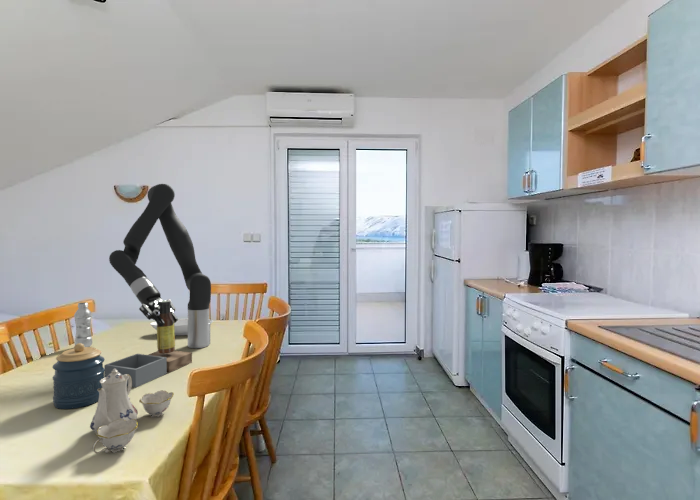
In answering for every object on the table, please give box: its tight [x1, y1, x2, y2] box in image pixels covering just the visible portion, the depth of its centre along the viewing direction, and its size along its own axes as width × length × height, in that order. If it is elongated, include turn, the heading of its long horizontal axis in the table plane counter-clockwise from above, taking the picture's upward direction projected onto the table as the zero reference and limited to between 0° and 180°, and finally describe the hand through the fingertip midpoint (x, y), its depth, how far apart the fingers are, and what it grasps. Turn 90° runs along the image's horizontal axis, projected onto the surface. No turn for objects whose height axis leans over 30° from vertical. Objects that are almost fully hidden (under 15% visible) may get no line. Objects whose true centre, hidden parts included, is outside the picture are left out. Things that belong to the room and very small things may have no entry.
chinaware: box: [89, 368, 175, 454], centre depth 100 cm, size 28×17×17 cm, turn 4°
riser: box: [147, 350, 193, 373], centre depth 149 cm, size 12×14×4 cm
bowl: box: [149, 318, 214, 336], centre depth 196 cm, size 30×15×6 cm, turn 105°
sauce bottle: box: [156, 299, 176, 354], centre depth 148 cm, size 6×6×20 cm
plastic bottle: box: [73, 301, 93, 347], centre depth 169 cm, size 6×7×20 cm
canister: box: [52, 343, 105, 410], centre depth 116 cm, size 13×13×18 cm
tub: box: [103, 353, 168, 388], centre depth 135 cm, size 14×14×6 cm
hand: (169, 323), depth 148 cm, fingers closed on sauce bottle, 6 cm apart
